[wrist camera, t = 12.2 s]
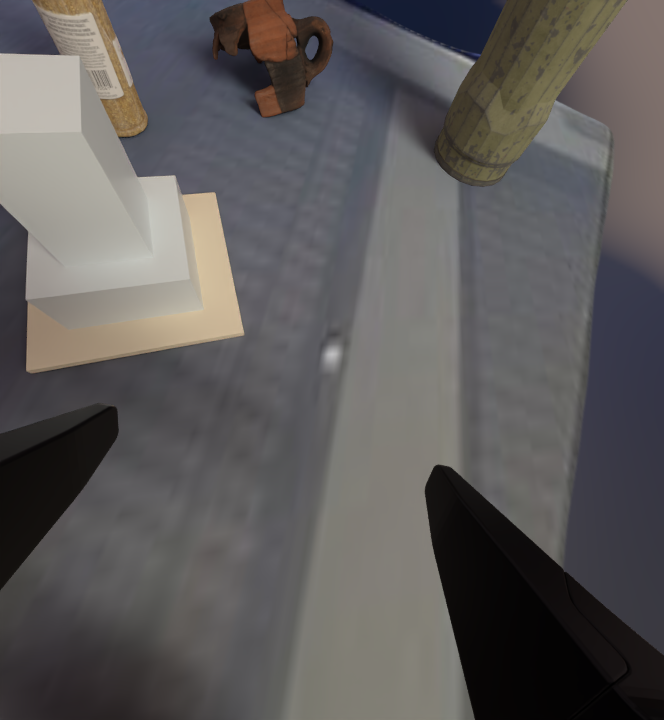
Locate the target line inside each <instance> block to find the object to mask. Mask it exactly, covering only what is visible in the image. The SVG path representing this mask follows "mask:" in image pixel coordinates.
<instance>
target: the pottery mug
mask: <svg viewBox="0 0 664 720" xmlns="http://www.w3.org/2000/svg"><path fill="white" fill-rule="evenodd" d="M210 22H211V24H212V26H213V28H214V31H215V33H214V40H213V57H214V59H215V60H217V59H218V51H219V50H220V49H221V50H223V51H226V53H228V54H229V55H232V56H236V55H237V54H238V48H239V49H247V50H248V49H250V50H251V52H252V55H253V56H254V57H255V59H256V60H257V62H258V63H262V62H263V61H264V62H265V66H266V68H267V70H268V72H269V75H270V77H271V83H272V84H271V85H270V86H268V87H267V88H264V89H262V90H259V91H256V92H255V99H256V101H257V103H258V106H259V110H260V113H261V116H262V117H270V116H275V115H277V114H280V113H284V112H287V111H292V110H295V109H297V108H300V107H301V106H302V105H304V97H305V88H306V87H308V85H309V83H310V81H311V80H312V79H313V78H314V77H315V76H316V75H318V74H319V73H320V72H322V71H323V70H324V69H325V67H326V65H327V64H328V62H329V59H330V57H331V54H332V46H333V40H332V37H331V35H330V29H329V27H328V25H327V23H326V22H325V21H324V20H323V19H321V18H319V17H314V16H311V17H307V18H304V19H294V18H291V16H290V15H289V14H287V13H286V12H285V9H284V4H283V0H250V1H247V2H244V3H240V4H236V5H233V6H231V7H228V8H225V9H223V10H221V11H219V12H217V13H215V14H214V15H212V16H211V17H210ZM312 36H316V37H317V38H318V41H319V46H318V50H317V53H316V54H315V56H314V58H313V59H312V60H309V59H308V58H307V56H306V53H305V48H306V46H307V44H308V41H309V39H310V38H311V37H312ZM294 38H296V39H297V46H296V42H295V40H294Z"/></svg>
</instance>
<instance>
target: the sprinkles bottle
mask: <svg viewBox="0 0 664 720" xmlns="http://www.w3.org/2000/svg"><path fill="white" fill-rule="evenodd" d="M32 1H33V3H34V5H35V7H36V9H37V11H38V12H39V14H40V16H41V18H42V20H43V22H44V24H45V26H46V28H47V30H48V32H49V33H50V35H51V37H52V39H53V41H54V43H55V45H56V47H57V49H58V51H59V53H60V54H61V55H68V56H80V58H81V60H82V62H83V64H84V67H85V69H86V71H87V73H88V75H89V77H90V79H91V81H92V83H93V85H94V87H95V90H96V92H97V94H98V96H99V98H100V100H101V102H102V104H103V106H104V108H105V111H106V113H107V115H108V117H109V119H110V121H111V123H112V125H113V127H114V129H115V132H116V134H117V136H118V137H130V136H134V135H137V134H139V133H140V132H142V131H144V129H145V128H146V126H147V121H148V117H147V114H146V112H145V110H144V109H143V107H142V105H141V102H140V100H139V97H138V94H137V92H136V89H135V86H134V84H133V80H132V76H131V74H130V71H129V68H128V66H127V63H126V60H125V58H124V55H123V53H122V50H121V47H120V44H119V42H118V39H117V37H116V35H115V33H114V31H113V28H112V25H111V22H110V20H109V18H108V15H107V13H106V10H105V8H104V5H103V2H102V0H32Z"/></svg>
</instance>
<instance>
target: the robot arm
mask: <svg viewBox="0 0 664 720" xmlns="http://www.w3.org/2000/svg"><path fill="white" fill-rule="evenodd" d="M118 432H119V428H118V412H117V408H116V407H115V406H113V405H108V404H103V403H97V404H94V405H91V406H88V407H84V408H81V409H78V410H75V411H72V412H69V413H65V414H62V415H59V416H56V417H53V418H50V419H46V420H43V421H40V422H37V423H34V424H31V425H27V426H24V427H21V428H18V429H15V430H12V431H8V432H5V433H2V434H0V590H1V589H2V588H3V586H4V585H5V584H6V583H7V581H8V580H9V579H10V578H11V577H12V575H13V574H14V573H15V572H16V570H17V569H18V568H19V567H20V566H21V564H22V563H23V562H24V561H25V559H26V558H27V557H28V556H29V555H30V553H31V552H32V551H33V550H34V548H35V547H36V546H37V545H38V544H39V542H40V541H41V540H42V539H43V537H44V536H45V535H46V534H47V533H48V531H49V530H50V529H51V528H52V526H53V525H54V524H55V523H56V522H57V520H58V519H59V518H60V517H61V515H62V514H63V513H64V512H65V511H66V509H67V508H68V507H69V506H70V504H71V503H72V502H73V501H74V500H75V498H76V497H77V496H78V494H79V493H80V492H81V491H82V489H83V488H84V486H85V485H86V484H87V482H88V481H89V479H90V478H91V476H92V475H93V473H94V472H95V470H96V469H97V467H98V466H99V464H100V463H101V461H102V460H103V458H104V457H105V455H106V454H107V452H108V451H109V449H110V448H111V446H112V445H113V443H114V442H115V440H116V438H117V436H118ZM425 497H426V504H427V511H428V519H429V526H430V533H431V539H432V545H433V550H434V554H435V559H436V563H437V567H438V571H439V575H440V579H441V583H442V587H443V591H444V595H445V599H446V603H447V608H448V612H449V616H450V620H451V624H452V628H453V632H454V636H455V640H456V644H457V648H458V652H459V657H460V661H461V665H462V669H463V673H464V677H465V681H466V685H467V689H468V693H469V697H470V701H471V706H472V710H473V714H474V718H475V720H664V655H663V654H661V653H660V652H659V651H658V650H656V649H655V648H654V647H653V646H652V645H650V644H649V643H648V642H647V641H646V640H644V639H643V638H642V637H641V636H640V635H638V634H637V633H636V632H635V631H633V630H632V629H631V628H630V627H629V626H628V625H626V624H625V623H624V622H622V620H621V619H619V618H618V617H617V616H616V615H615V614H613V613H612V612H611V611H610V610H609V609H607V608H606V607H605V606H604V605H603V604H602V603H601V602H599V601H598V600H597V599H596V598H595V597H594V596H593V595H592V594H590V593H589V592H588V591H587V590H586V589H585V588H584V587H582V586H581V585H580V584H579V583H578V582H577V581H576V580H575V579H574V578H573V577H572V576H570V575H569V574H568V573H567V572H564V570H563V568H562V567H560V566H559V565H558V564H557V563H556V562H555V561H554V560H553V559H552V558H550V557H549V556H548V555H547V554H546V553H545V552H544V551H543V550H542V549H541V548H539V547H538V546H537V545H536V544H535V543H534V542H533V541H532V540H531V539H529V538H528V537H527V536H526V535H525V534H524V533H523V532H522V531H521V530H520V529H518V528H517V527H516V526H515V525H514V524H513V523H512V522H511V521H510V520H508V519H507V518H506V517H505V516H504V515H503V514H502V513H501V512H500V511H499V510H497V509H496V508H495V507H494V506H493V505H492V504H491V503H490V502H489V501H487V500H486V499H485V498H484V497H483V496H482V495H481V494H480V493H479V492H478V491H476V490H475V489H474V488H473V487H472V486H471V485H470V484H469V483H468V482H466V481H465V480H464V479H463V478H462V477H461V476H460V475H459V474H458V473H457V472H455V471H454V470H453V469H452V468H451V467H449V466H443V465H436V466H435V467H434V468H433V470H432V472H431V475H430V477H429V479H428V481H427V483H426V486H425Z"/></svg>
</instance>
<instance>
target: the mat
mask: <svg viewBox="0 0 664 720" xmlns="http://www.w3.org/2000/svg"><path fill="white" fill-rule="evenodd" d="M182 197H183V200H184V203H185V205H186V208H187V211H188V214H189V217H190V223H191V229H192V236H193V242H194V249H195V255H196V262H197V268H198V274H199V281H200V287H201V294H202V300H203V307H204V310H199V311H193V312H186V313H179V314H172V315H166V316H159V317H152V318H145V319H139V320H132V321H125V322H118V323H112V324H105V325H98V326H92V327H85V328H78V329H71V330H68V329H67V328H65V327H64V326H62V325H61V324H59V323H58V322H57V321H55V320H54V319H52V318H51V317H49V316H48V315H46V314H45V313H44V312H42V311H41V310H39V309H38V308H36V307H35V306H34V305H32V304H31V303H29V302H28V319H27V359H26V371H27V372H29V373H37V372H43V371H49V370H54V369H60V368H65V367H71V366H76V365H82V364H87V363H93V362H99V361H104V360H110V359H115V358H121V357H126V356H132V355H137V354H143V353H149V352H154V351H160V350H165V349H171V348H176V347H182V346H187V345H193V344H199V343H204V342H210V341H215V340H221V339H226V338H232V337H237V336H243V335H244V331H243V326H242V321H241V316H240V311H239V306H238V302H237V297H236V292H235V287H234V282H233V277H232V272H231V268H230V263H229V258H228V253H227V248H226V243H225V238H224V233H223V229H222V224H221V219H220V214H219V209H218V204H217V199H216V195H215V193H201V194H188V195H182Z"/></svg>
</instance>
